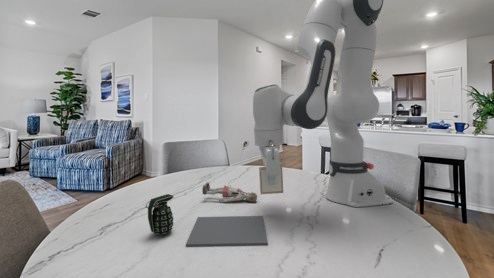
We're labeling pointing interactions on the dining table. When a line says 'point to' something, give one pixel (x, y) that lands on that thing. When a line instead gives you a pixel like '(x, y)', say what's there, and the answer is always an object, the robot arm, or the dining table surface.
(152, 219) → the grenade
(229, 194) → the figurine
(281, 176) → the tile
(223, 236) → the mat
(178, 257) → the dining table surface
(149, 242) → the dining table surface
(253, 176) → the dining table surface
